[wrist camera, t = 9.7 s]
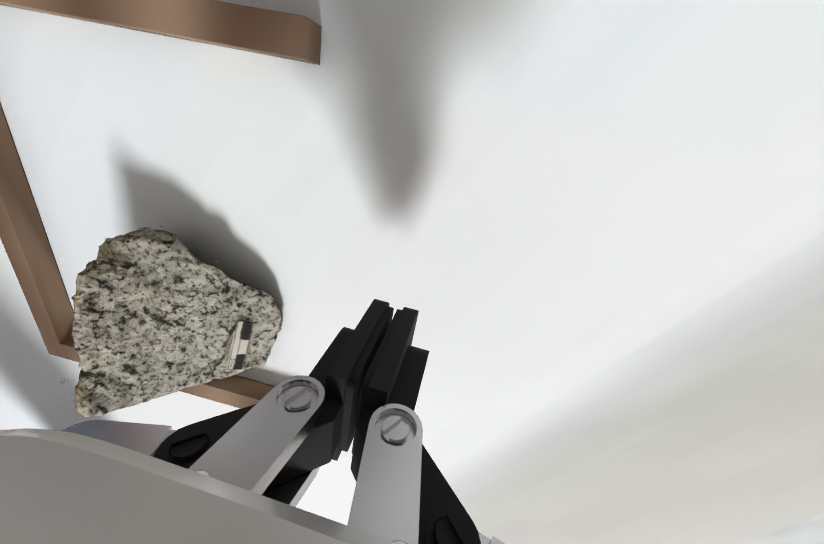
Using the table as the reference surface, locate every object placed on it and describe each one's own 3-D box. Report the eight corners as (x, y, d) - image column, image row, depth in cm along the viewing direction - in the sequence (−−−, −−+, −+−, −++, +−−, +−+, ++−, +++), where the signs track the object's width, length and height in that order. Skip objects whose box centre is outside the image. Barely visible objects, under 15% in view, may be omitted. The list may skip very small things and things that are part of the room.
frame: (321, 26, 12) (305, 16, 11) (305, 408, 21) (296, 424, 20) (-76, -44, 13) (-125, -60, 12) (69, 342, 22) (49, 353, 21)
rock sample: (284, 444, 16) (19, 500, 11) (250, 385, 22) (68, 403, 17) (316, 243, 16) (66, 197, 11) (273, 239, 22) (99, 207, 17)
